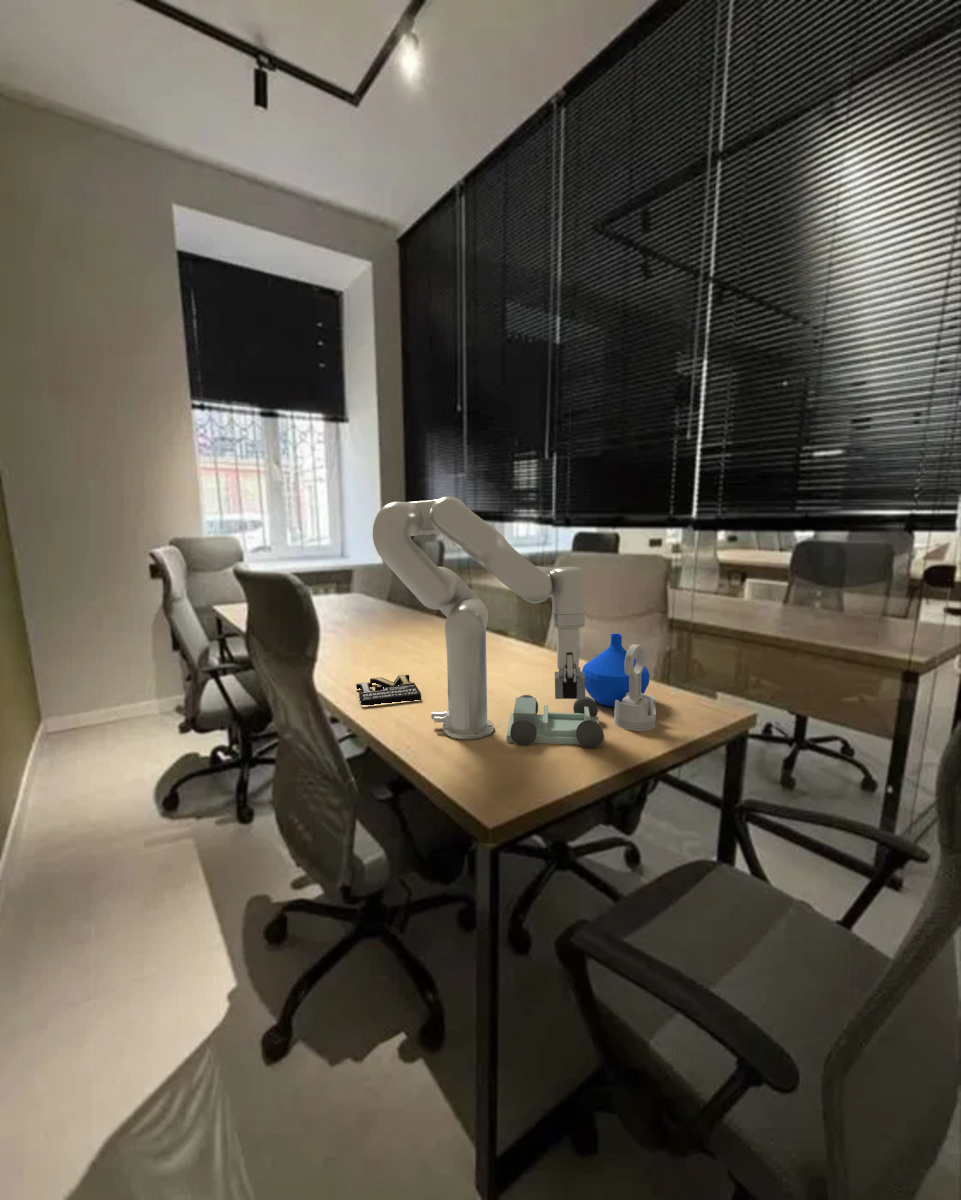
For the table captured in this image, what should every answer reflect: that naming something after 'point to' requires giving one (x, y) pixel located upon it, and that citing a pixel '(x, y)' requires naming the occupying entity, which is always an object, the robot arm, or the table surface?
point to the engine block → (559, 684)
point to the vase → (610, 674)
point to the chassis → (555, 724)
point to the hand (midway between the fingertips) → (569, 692)
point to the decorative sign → (388, 691)
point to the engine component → (635, 696)
